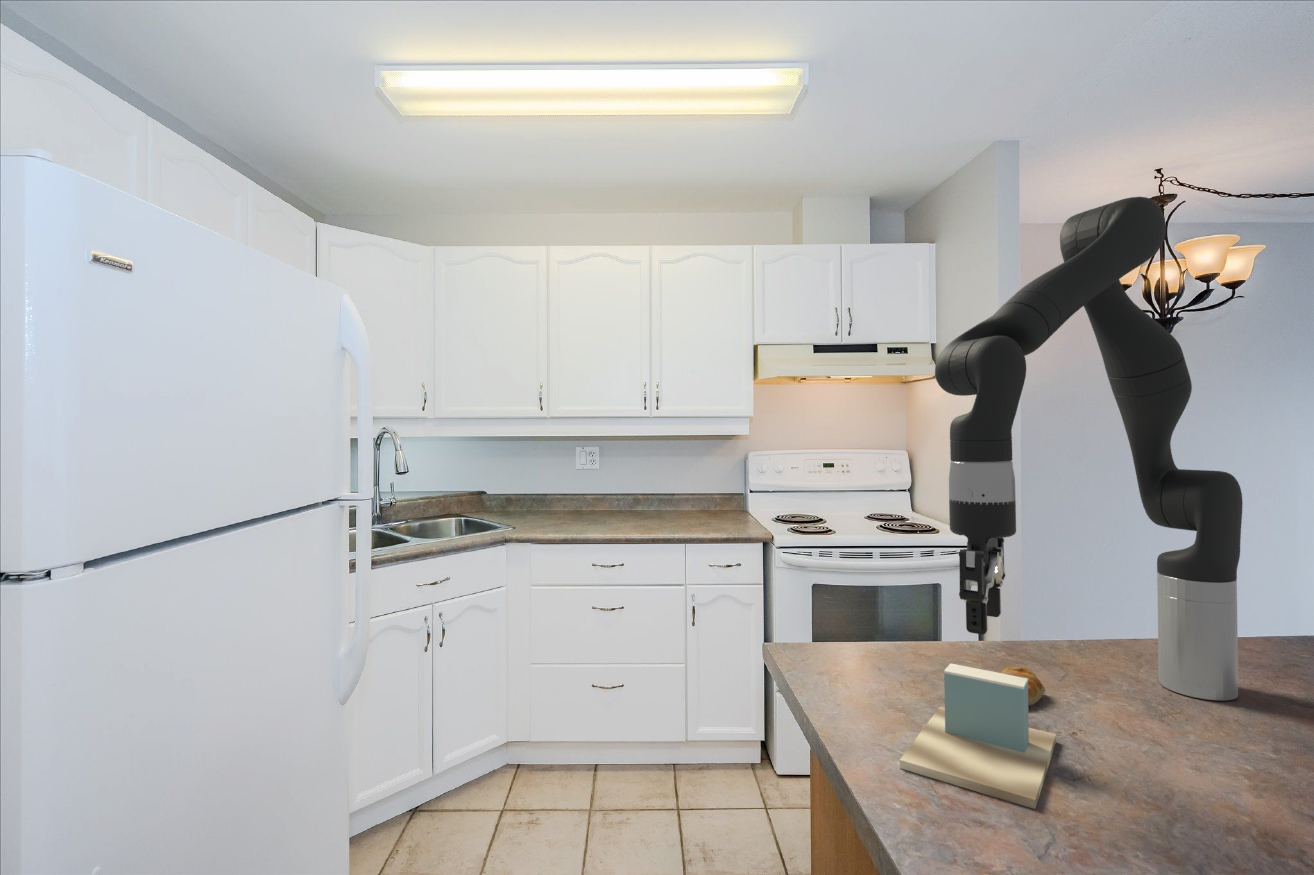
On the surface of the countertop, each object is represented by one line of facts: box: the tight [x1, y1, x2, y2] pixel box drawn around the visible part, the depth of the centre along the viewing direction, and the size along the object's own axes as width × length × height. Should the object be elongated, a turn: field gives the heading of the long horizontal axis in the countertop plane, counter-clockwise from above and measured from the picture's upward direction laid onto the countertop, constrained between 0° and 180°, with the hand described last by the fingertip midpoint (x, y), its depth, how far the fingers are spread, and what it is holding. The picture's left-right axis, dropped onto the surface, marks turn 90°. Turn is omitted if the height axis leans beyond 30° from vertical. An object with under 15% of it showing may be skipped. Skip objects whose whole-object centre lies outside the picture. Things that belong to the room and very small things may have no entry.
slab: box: [943, 662, 1030, 753], centre depth 81 cm, size 3×9×8 cm, turn 52°
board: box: [899, 706, 1057, 810], centre depth 79 cm, size 18×14×1 cm
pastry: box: [1000, 666, 1046, 707], centre depth 95 cm, size 9×7×4 cm
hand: (984, 623), depth 81 cm, fingers open, 8 cm apart
